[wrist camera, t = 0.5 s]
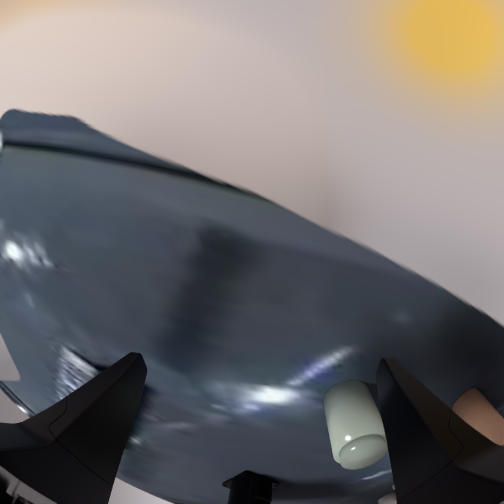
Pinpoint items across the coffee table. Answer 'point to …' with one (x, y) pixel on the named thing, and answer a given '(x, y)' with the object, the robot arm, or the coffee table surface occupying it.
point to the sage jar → (354, 425)
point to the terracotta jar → (480, 415)
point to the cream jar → (388, 499)
